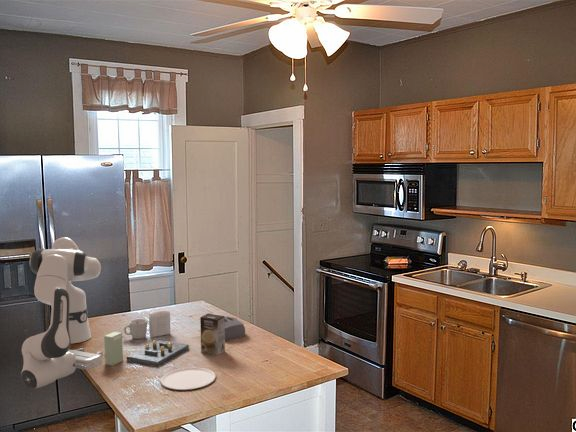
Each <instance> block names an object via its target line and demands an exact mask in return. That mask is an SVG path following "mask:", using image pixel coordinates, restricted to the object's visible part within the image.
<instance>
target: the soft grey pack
mask: <svg viewBox="0 0 576 432" xmlns="http://www.w3.org/2000/svg"><path fill="white" fill-rule="evenodd" d="M245 334H246V327H245V325H244V323H243V322H242V321H239V319H237V318H235V317H232V316H225V341H232V340H237V339H240V338H243V337H244V336H245Z"/></svg>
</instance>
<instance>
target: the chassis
mask: <svg viewBox="0 0 576 432" xmlns="http://www.w3.org/2000/svg"><path fill="white" fill-rule="evenodd" d="M189 345H190V344H186V343H181V342H175V341H174V342H173V341H167V340H162V339H159V340H157V339H154V340H152V343H151V344H149V343H145V344H144V346H145V347H143V348H141V349H139V350H137V351H135V352H133V353H131V354H129V355H127V356H126V362H130V363H136V364H142V365H146V366H153V367H157V368H158V367H160V366H161V365H164V364H165V363H167V362H169V361H170V360H172V359H174V358H176V357H177V356H179V355H181V354H182V353H185V352H187V351H189V349H190V346H189Z"/></svg>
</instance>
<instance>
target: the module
mask: <svg viewBox="0 0 576 432" xmlns="http://www.w3.org/2000/svg"><path fill="white" fill-rule="evenodd" d="M103 341H104V359H105V365H108V366H116V365H117V364H119V363H121V362H123V361H124V351H123V333H122V332H119V331H112V332H111V333H108V334H106V335H103Z"/></svg>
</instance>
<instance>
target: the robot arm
mask: <svg viewBox="0 0 576 432" xmlns="http://www.w3.org/2000/svg"><path fill="white" fill-rule="evenodd" d="M29 267H30V268H29V269H30V271H32V273H33V274H36V277H35V282H34V287H33V291H34V296H35V298H36V299H37V300H38V301H39V302H40V303H43V304H45V305H49V306H51V307H50V308H51V312H50V325H49V327H48V328H47V330H46V331H44V332H41V333H38V334H35V335H32V336H29V337H27V338H26V339H25V340H24V341H23V342H22V345H21V348H20V349H21V350H20V351H21V355H22V359H23V366H22V370H21V372H20V379H21V381H22V383H23V384H24V385H25V386H26V387H27V388H29V389H39V388H43V387H45V386H47V385H50V384H52V383H54V382H55V381H57V380H60V379H62V378H65V377H68V376H70V375H71V374H73V373H74V372H75V371H76V369H80V370H89V369H93V368H95V367H98V366H100V365H102V363H103V360H102V359H103V356H104V355H103V351H101V350H100V351H96V353H93V352H88V351H85V348H82V347H81V348H78V349H70V348H71V345H72V344H76V343H77V344H78V343H83V342H86V341H88V340H90V339H91V338H92V337H93V336H92V332H91V330H90V323H89V318H88V317H89V316H88V315H89V314H88V313H89V311H88V307H87V297H86V296H87V295H86V294H87V293H86V292H85V291H84V290H83V289H82V288H80V287H76V286H74V285H73V284H72V282H79V281H80V282H82V281H89V280H93V279H96V278H98V277H99V275H100V274H101V272H102V271H101V270H102V264H101V263H100V261H99V259H98V258H97V257H92V256H88V255H87V253H86V252H84V251H83V250H81V249H80V248H79V246H78V245H77V244H76V242H75V241H74V240H73V239H72V238H69V237H66V236H64V237H63V236H62V237H60V238H57V239H55V241H54V242H53V243H52V246H51V248H48V249H47V248H46V249H44V248H38V249H36V250H34V251H33V252H32V253H31V255H30V258H29Z"/></svg>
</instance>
